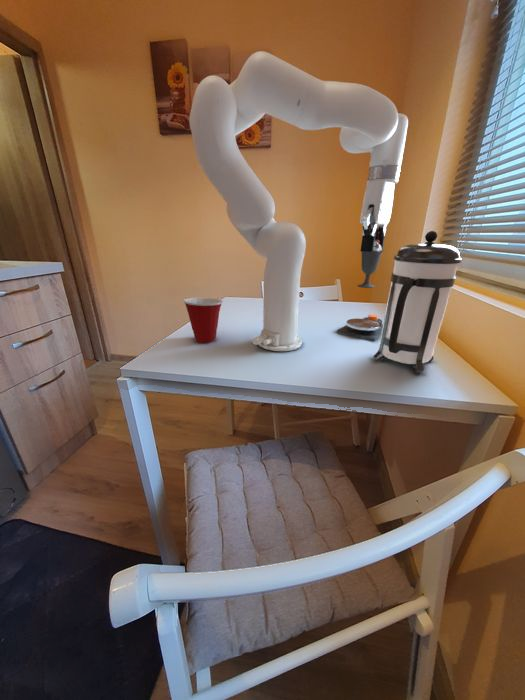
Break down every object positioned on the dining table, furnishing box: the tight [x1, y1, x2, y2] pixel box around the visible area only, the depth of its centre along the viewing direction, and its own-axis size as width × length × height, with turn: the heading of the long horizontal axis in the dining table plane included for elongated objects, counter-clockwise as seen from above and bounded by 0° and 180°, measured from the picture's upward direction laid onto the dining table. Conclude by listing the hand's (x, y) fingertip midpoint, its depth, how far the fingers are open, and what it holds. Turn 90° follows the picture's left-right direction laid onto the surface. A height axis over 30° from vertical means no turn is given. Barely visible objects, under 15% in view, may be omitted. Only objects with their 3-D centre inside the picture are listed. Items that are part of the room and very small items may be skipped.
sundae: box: [357, 232, 385, 289], centre depth 79 cm, size 7×7×15 cm
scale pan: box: [345, 318, 380, 331], centre depth 88 cm, size 10×10×1 cm
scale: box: [336, 316, 383, 342], centre depth 91 cm, size 16×12×2 cm
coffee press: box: [372, 230, 462, 374], centre depth 63 cm, size 17×16×30 cm
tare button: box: [367, 314, 379, 321], centre depth 94 cm, size 3×3×2 cm
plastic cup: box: [183, 297, 224, 344], centre depth 79 cm, size 11×11×12 cm
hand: (371, 250), depth 78 cm, fingers closed on sundae, 6 cm apart
